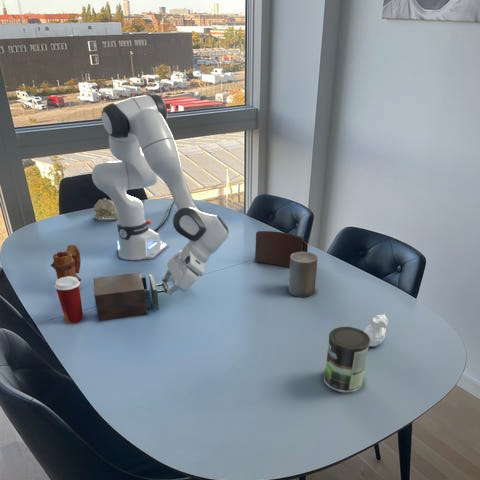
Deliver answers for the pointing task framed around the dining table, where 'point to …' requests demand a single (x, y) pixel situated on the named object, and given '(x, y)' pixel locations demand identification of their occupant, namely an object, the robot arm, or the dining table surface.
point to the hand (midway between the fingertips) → (165, 287)
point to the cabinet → (119, 296)
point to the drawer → (152, 292)
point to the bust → (377, 330)
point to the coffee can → (346, 359)
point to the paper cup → (70, 298)
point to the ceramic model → (105, 210)
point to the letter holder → (277, 247)
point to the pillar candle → (302, 274)
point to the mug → (67, 262)
